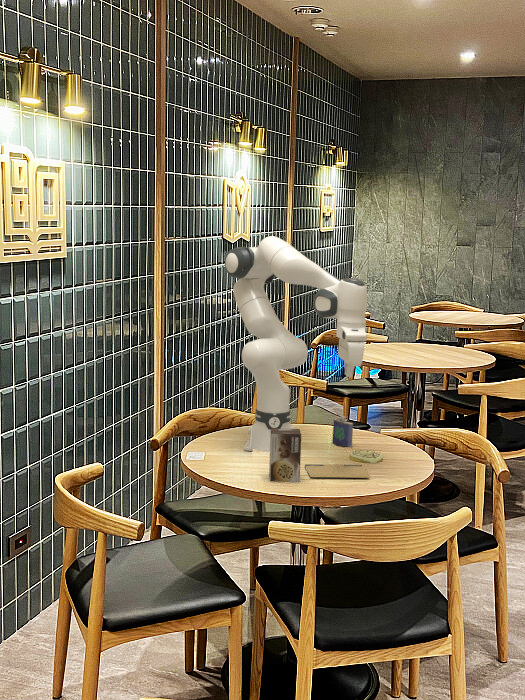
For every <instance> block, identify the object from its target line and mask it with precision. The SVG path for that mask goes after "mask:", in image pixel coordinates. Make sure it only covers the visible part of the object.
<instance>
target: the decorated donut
mask: <svg viewBox="0 0 525 700" xmlns="http://www.w3.org/2000/svg"><path fill="white" fill-rule="evenodd" d="M383 457H384V456H383V455H382V453H380V452H376V451H374V450H368V449H357V450H356V449H355V450H353V451H351V452H350V453H349V459H350V460H351V461H354V462H357V463H364V464H377V463H381V462H382V461H383Z"/></svg>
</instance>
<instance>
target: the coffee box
mask: <svg viewBox="0 0 525 700" xmlns="http://www.w3.org/2000/svg"><path fill="white" fill-rule="evenodd" d="M301 453H302V433H301V429H300V428H294V429H272V428H271V432H270V452H269V462H268V463H269V466H268V467H269V469H268V470H269V473H268V478H269V482H273V483H275V482H276V483H300V482H301V461H302V460H301V457H302V456H301V455H302V454H301Z"/></svg>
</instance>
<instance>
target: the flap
mask: <svg viewBox="0 0 525 700" xmlns="http://www.w3.org/2000/svg"><path fill="white" fill-rule="evenodd" d="M323 465H324V466H306V469H305V470H306V472H307V473H308V475H309V477H310V478H362V479H364V478H365V479H366V478H367V479H368V478H370V477H371V474H370V473H369V472H368V471H367V470H366V469H365V466H363V465H362V466H343V465H344V464H323Z"/></svg>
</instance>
